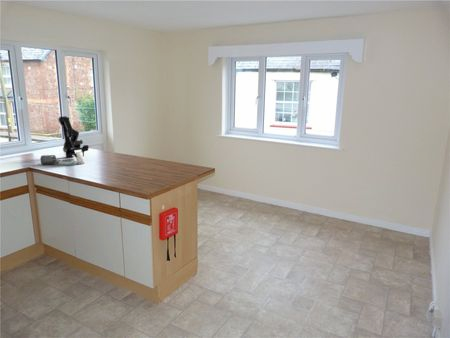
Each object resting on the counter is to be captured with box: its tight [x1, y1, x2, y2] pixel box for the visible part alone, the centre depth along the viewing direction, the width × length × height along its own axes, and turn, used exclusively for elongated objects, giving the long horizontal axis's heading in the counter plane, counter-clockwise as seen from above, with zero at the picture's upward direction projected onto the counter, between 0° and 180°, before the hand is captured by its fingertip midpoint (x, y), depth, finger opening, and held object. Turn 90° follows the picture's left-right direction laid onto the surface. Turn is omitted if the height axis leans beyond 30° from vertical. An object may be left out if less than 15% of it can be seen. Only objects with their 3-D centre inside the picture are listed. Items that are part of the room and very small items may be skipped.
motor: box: [40, 154, 77, 167], centre depth 295 cm, size 12×26×8 cm, turn 98°
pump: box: [75, 151, 85, 166], centre depth 295 cm, size 6×6×10 cm
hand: (80, 156), depth 293 cm, fingers closed on pump, 5 cm apart
